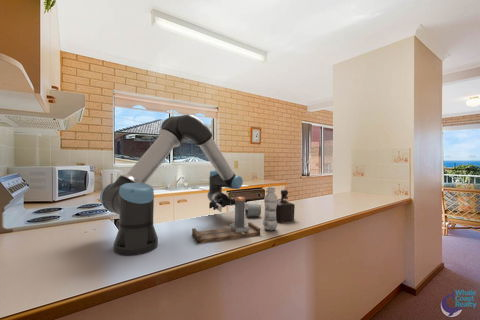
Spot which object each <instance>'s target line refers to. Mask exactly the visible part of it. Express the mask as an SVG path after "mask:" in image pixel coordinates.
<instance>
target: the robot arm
mask: <svg viewBox="0 0 480 320" xmlns="http://www.w3.org/2000/svg"><path fill="white" fill-rule="evenodd" d="M158 135H159V136H158V137H157V139H155V140H154V142H153V143H152V144H151V145H150V147H148V149H147V150H146V151H144V153H143V154H142V156H141V157H140V158H139V159H138V160H137V161H136V163H135V164H134V165H133V166H132V167H131V169H130V170H129V171H128V172H127V173H126V174H121V175H119V176H118V177H117V178H116V180H115V181H114V182H112V183H109V184H106V185H105V186H104V187H103V189H102V190H101V193H100V197H99V199H100V200H99V201H100V204H101V205H102V207H103V208H104V209H106V210H107V211H108V212H110V213H114V214H118V216H119V218H118V219H119V220H118V221H119V225H118V231H117V234H116V236H115V240H114V242H113V252H114V253H115V254H116V255H120V256H121V255H122V256H136V255H141V254H145V253H149V252H150V251H152V250H155V249H156V248H157V247H158V245H159V239H158V238H159V237H158V235H157V232H156V228H155V226H154V211H155V210H154V206H155V204H154V201H155V192H154V188H153V186H152V185H150V184H148V183H147V182H148V181H149V180H150V178H151V177H152V176H153V175H154V174H155V172H156V171H157V170H158V168H159V167H160V166H161V164H162V163H163V162H164V161H165V160H166V158H168V155H169V154H170V153H171V151H172V150H173V149H174V148H178V147H180V146H181V144H182V143H183V141H185V140H191V142H193V143H194V145H195V146H197V147H199V148H200V150H201V151H202V152H203V154H204V155H205V156H206V158H207V160H208V161H209V163H210V164H211V165H212V167H213V168H214V170H210V171H209V177H208V180H209V181H208V182H209V184H208V185H209V186H208V187H209V191H208V192H207V198H208V200H209V201H210V202H209V209H212V210H214V211H216V210H217V211H218V212H220V213H221V212H222V210H223V209H222V208H225V207H227V206H235V197H233V198H230V197H229V196H228V195H227V194H226V193H224V192H223V188H226V189H231V190H234V189H235V190H239V189H241V187H242V186H243V182H244V181H243V177H242V176H240V175H237V174H236V173H235V172H234V170H233V169H232V167H231V166H230V164H229V162H228V161H227V159H226V158H225V156H224V154H223V153H222V151H221V150H220V148H219V146H218V145H217V143H216V141H215V140H214V138H213V135H214V134H213V133H212V131H211V130H210V128H209V127H208V126H207V125H206V123H204V121H202V119H200V118H199V117H197V116H195V115H193V114H183V115H176V116H175V115H174V116H170V117H167V118H165V119H164V120H163V121H162V122H161V124H160V130H159V131H158ZM247 203H248V200H245V209H247V210H248V204H247Z"/></svg>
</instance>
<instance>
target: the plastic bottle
mask: <svg viewBox="0 0 480 320" xmlns="http://www.w3.org/2000/svg"><path fill="white" fill-rule="evenodd" d="M275 192H276V187H267V188H266V194H265V196H264V198H263V202H264V203H263V204H264V216H263V217H264V218H263V223H262V224H263V228H264V230H267V231H275V230H276V229H277V227H278V222H277V220H276V207H277V201H278V199H279V198H278V196H277V194H276V193H275Z"/></svg>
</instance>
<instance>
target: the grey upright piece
mask: <svg viewBox="0 0 480 320" xmlns="http://www.w3.org/2000/svg"><path fill="white" fill-rule="evenodd" d="M234 198H235V205H234V223H230V225H229V228H230V229H232V230H233V231H234V232H235V233H242V232H249V227H248V225H246V224H245V201H246V197H245V196H235V197H234Z"/></svg>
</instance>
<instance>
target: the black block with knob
mask: <svg viewBox="0 0 480 320" xmlns="http://www.w3.org/2000/svg"><path fill="white" fill-rule="evenodd" d="M288 194H289V191H288V190H287V189H281V190H280V195H281V197H280V198H277V199H278V201H277V207H276V220H277V223H290V222H294V221H295V206H296V205H295V204H294V203H292V202H289V201H287V200H288V199H289V196H288Z"/></svg>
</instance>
